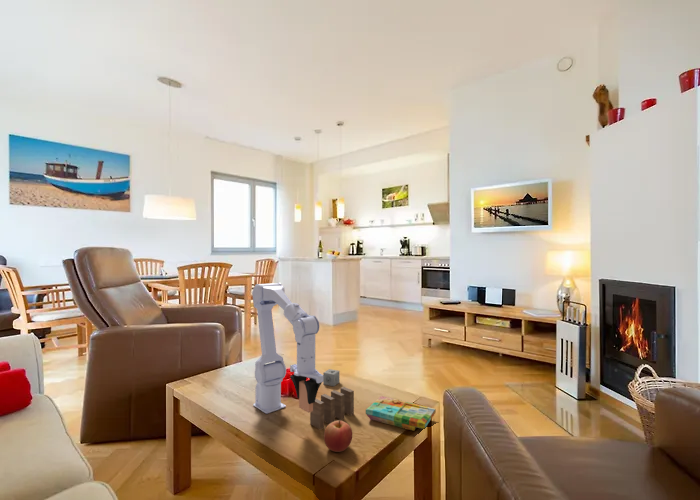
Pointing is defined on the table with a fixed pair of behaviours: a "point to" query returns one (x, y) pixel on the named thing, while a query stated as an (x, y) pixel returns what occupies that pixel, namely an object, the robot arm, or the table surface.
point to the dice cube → (331, 377)
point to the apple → (338, 436)
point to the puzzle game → (400, 413)
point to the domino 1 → (304, 398)
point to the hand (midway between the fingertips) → (306, 399)
